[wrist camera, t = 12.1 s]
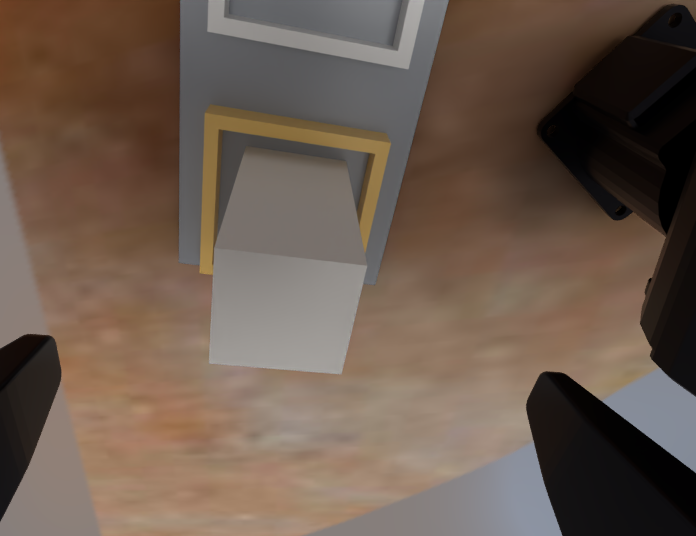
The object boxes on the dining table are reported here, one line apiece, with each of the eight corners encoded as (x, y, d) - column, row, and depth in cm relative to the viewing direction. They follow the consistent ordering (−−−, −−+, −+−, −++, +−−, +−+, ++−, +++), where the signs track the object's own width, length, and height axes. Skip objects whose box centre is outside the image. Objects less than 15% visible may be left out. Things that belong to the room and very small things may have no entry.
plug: (246, 145, 19) (214, 247, 12) (346, 161, 20) (367, 265, 13) (238, 246, 22) (208, 378, 15) (328, 257, 22) (338, 388, 15)
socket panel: (186, -267, 14) (171, -295, 12) (490, -182, 15) (511, -197, 13) (181, 255, 22) (172, 277, 21) (373, 278, 24) (378, 300, 22)
